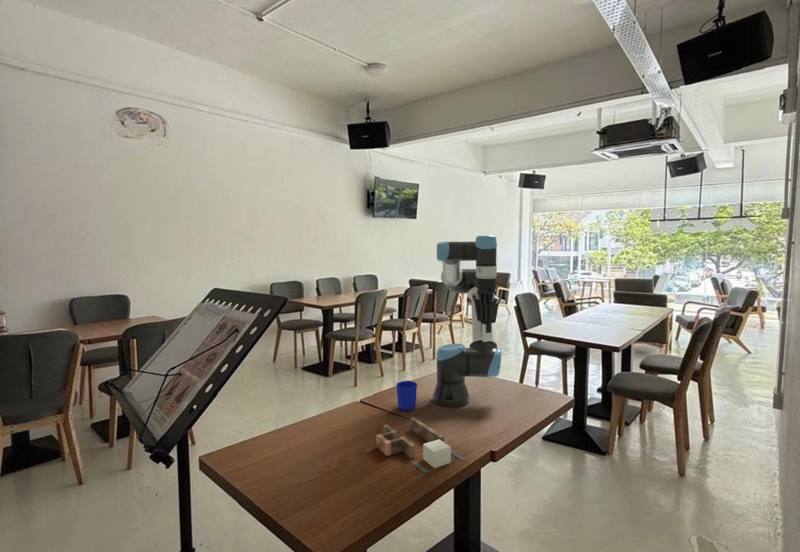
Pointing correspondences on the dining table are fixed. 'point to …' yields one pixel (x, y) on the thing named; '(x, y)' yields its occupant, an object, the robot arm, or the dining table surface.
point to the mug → (406, 395)
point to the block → (437, 453)
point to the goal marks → (428, 471)
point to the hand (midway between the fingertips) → (486, 340)
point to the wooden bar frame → (404, 439)
